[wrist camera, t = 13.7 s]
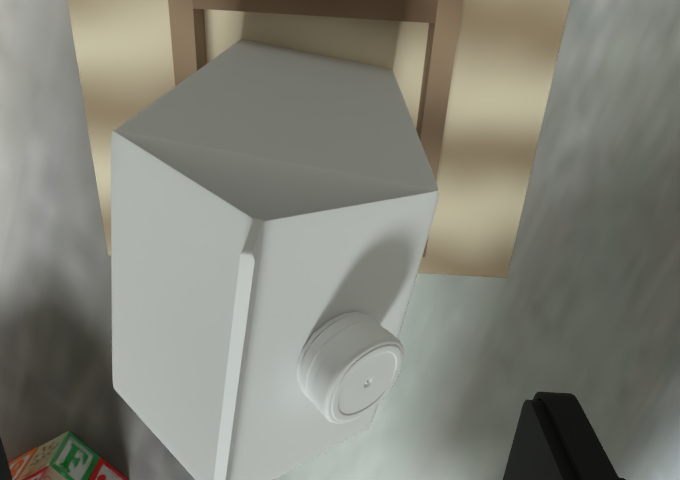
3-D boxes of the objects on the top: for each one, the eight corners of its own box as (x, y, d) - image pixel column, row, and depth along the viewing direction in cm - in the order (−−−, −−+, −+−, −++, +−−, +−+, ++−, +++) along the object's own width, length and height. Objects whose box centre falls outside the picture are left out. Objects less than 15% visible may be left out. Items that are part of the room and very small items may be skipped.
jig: (501, 267, 31) (515, 295, 28) (116, 245, 31) (94, 272, 28) (571, -49, 24) (599, -50, 21) (67, -81, 24) (31, -86, 21)
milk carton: (226, 182, 28) (32, 528, 11) (240, 37, 24) (-4, 208, 8) (362, 206, 28) (380, 574, 11) (393, 68, 25) (485, 292, 8)
